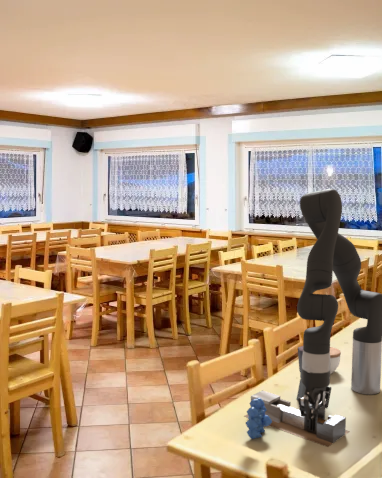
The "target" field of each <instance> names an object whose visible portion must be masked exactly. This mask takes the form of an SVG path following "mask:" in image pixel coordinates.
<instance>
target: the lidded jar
mask: <svg viewBox="0 0 382 478" xmlns="http://www.w3.org/2000/svg"><path fill="white" fill-rule="evenodd" d="M340 362H341V350H339V348H336V347H333V346H330V375H331V374H333V373H335V371H336V370H337V368H338V367H339V365H340Z"/></svg>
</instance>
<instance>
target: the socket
mask: <svg viewBox="0 0 382 478" xmlns="http://www.w3.org/2000/svg"><path fill="white" fill-rule="evenodd" d="M346 422H347V417H346V416H342V415H341V414H340V415H339V414H337V413H336V414H335V415H331V414H329V415H327V420H326V421H325V422H324V423H321V422H318V423H317V437H316V438H319V439H322V440H325V441H328V442H330V443H333V444H335V443H336V442H337V441H339V440H340V439H341V438H343V437H345V436H346V435H345V430H347V429H346V428H347V426H346ZM338 439H339V440H338Z"/></svg>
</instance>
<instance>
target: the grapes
mask: <svg viewBox="0 0 382 478" xmlns="http://www.w3.org/2000/svg"><path fill="white" fill-rule="evenodd" d="M249 405H250V407H249V408H248V409H247V410H246V413H247V414H248V415H249V416H248V418H247V420H246V422H245V425H246V427H247V428H248V429H247V431H246V433H247V435H248V437H249V439H251V440H254V439H258V438H262V437H263V436H262V435H263V433H265V432H266V431H265V427H268V426H269V425H270V424H271V423H272V420H271V419H270V417H269V416H268V415H265V412H266V408H265V406H264V402H263V400H262V399H261V398H256V399H253V400H252V401H251V400H250V402H249ZM247 414H246V415H247Z"/></svg>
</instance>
